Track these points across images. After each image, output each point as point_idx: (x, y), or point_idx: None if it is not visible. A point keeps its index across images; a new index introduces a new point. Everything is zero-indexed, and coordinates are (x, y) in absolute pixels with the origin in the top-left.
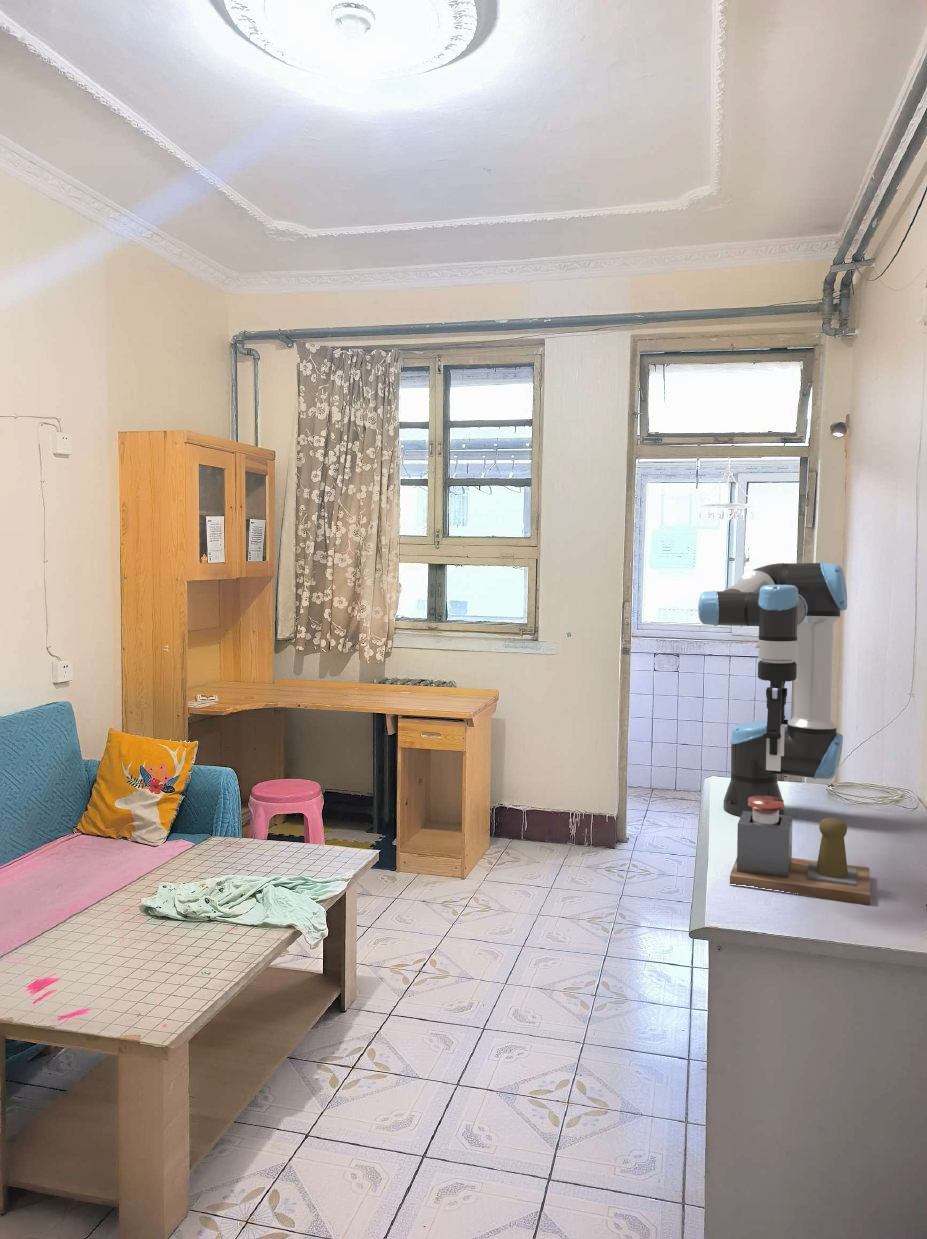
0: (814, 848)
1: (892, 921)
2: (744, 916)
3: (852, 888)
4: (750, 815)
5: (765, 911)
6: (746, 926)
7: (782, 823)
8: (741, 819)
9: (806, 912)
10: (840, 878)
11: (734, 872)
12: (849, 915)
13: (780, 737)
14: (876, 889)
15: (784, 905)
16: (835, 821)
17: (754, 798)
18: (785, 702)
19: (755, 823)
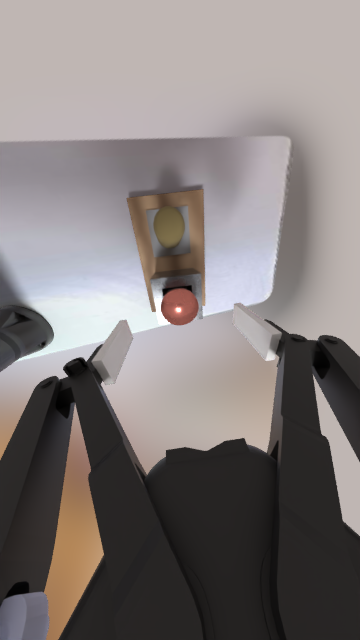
0: (85, 263)
1: (231, 166)
2: (252, 282)
3: (194, 209)
4: None
5: (240, 272)
6: (267, 278)
7: (182, 284)
8: None
9: (234, 245)
10: None
11: None
12: (229, 210)
13: (116, 346)
14: (158, 190)
15: (226, 262)
16: (175, 220)
17: (179, 319)
18: (128, 456)
19: None
